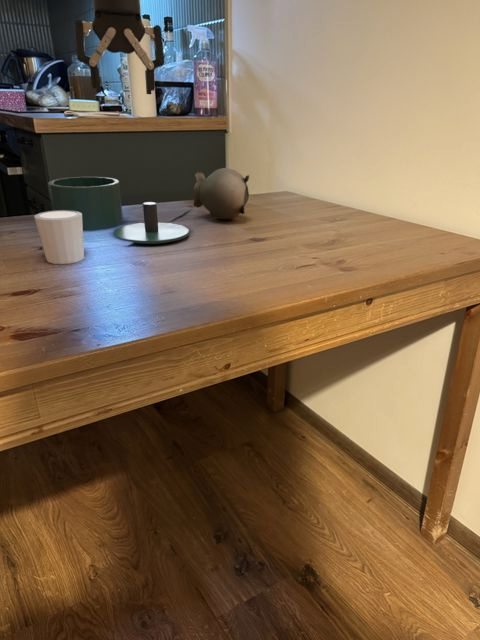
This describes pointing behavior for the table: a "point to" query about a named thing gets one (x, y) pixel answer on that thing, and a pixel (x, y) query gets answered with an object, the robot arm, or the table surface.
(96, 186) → the pot
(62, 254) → the shot glass
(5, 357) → the table surface
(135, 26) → the robot arm
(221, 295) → the table surface
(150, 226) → the lid
